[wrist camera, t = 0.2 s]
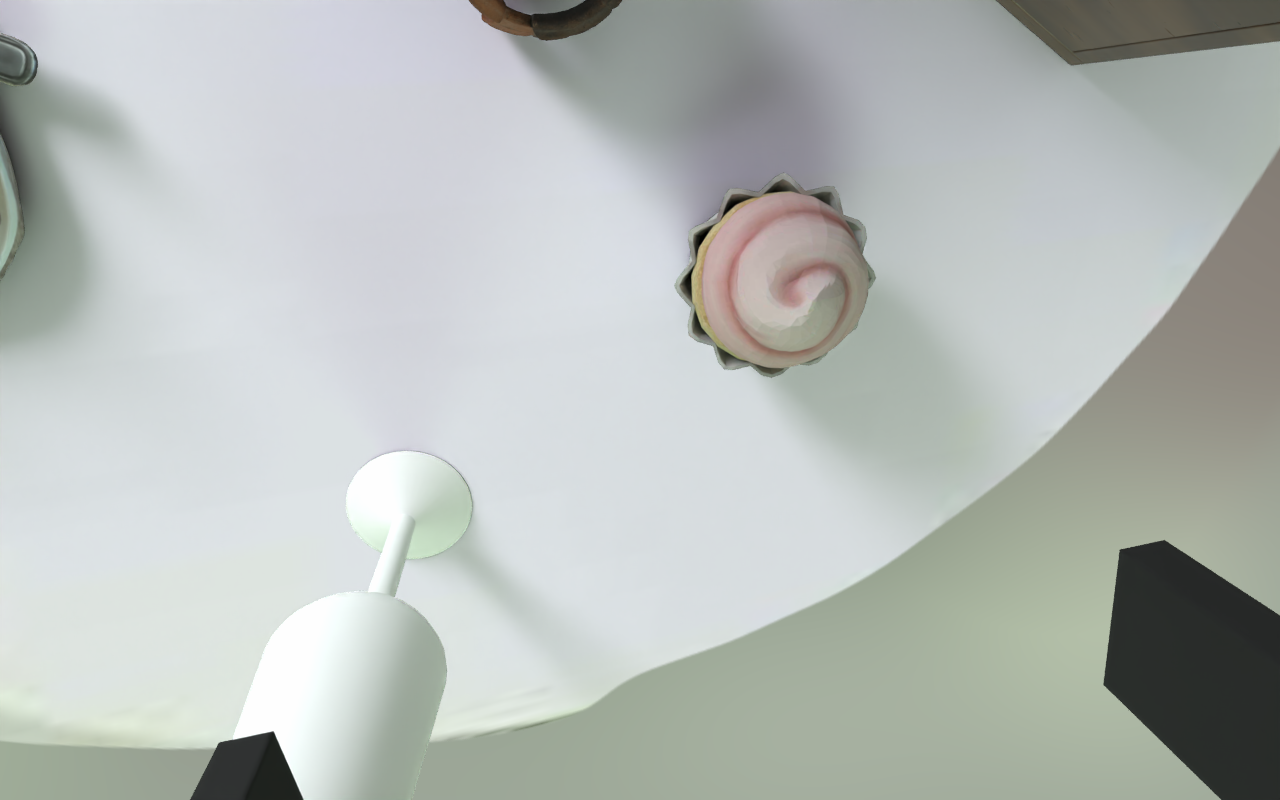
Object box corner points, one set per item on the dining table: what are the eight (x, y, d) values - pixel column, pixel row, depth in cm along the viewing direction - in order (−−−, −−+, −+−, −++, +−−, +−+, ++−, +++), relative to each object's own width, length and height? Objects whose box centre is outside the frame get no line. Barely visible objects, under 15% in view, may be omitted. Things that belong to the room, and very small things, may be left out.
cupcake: (786, 130, 35) (876, 130, 26) (860, 290, 39) (964, 340, 30) (623, 232, 36) (655, 268, 27) (711, 380, 40) (766, 458, 30)
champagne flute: (483, 547, 41) (426, 1041, 19) (363, 569, 41) (158, 1104, 18) (458, 440, 39) (359, 862, 16) (330, 462, 38) (47, 929, 16)
